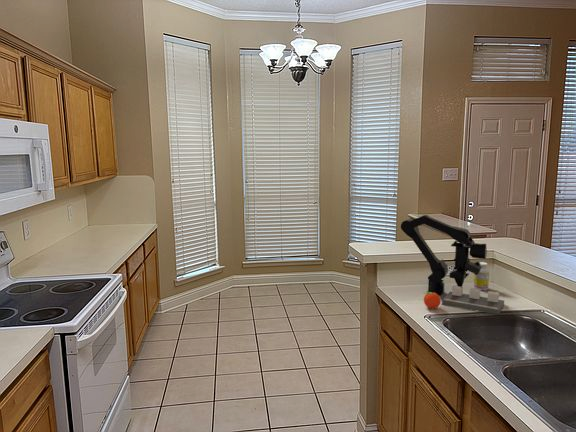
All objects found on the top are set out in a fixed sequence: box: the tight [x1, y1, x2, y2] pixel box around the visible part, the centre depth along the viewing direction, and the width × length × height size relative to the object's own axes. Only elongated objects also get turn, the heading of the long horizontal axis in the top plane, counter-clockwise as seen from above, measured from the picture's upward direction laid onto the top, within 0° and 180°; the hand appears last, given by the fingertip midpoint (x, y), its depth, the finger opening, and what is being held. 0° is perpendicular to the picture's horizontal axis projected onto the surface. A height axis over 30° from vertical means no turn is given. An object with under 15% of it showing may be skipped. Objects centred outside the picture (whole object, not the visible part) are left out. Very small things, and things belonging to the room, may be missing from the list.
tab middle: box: [468, 287, 482, 299], centre depth 193 cm, size 4×3×4 cm
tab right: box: [487, 290, 500, 302], centre depth 188 cm, size 4×3×4 cm
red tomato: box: [423, 291, 442, 310], centre depth 187 cm, size 8×7×7 cm
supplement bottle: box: [473, 261, 490, 291], centre depth 212 cm, size 7×7×13 cm
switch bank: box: [441, 291, 505, 316], centre depth 191 cm, size 23×14×2 cm, turn 56°
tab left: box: [451, 285, 464, 296], centre depth 197 cm, size 4×3×4 cm
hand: (460, 289), depth 201 cm, fingers closed
